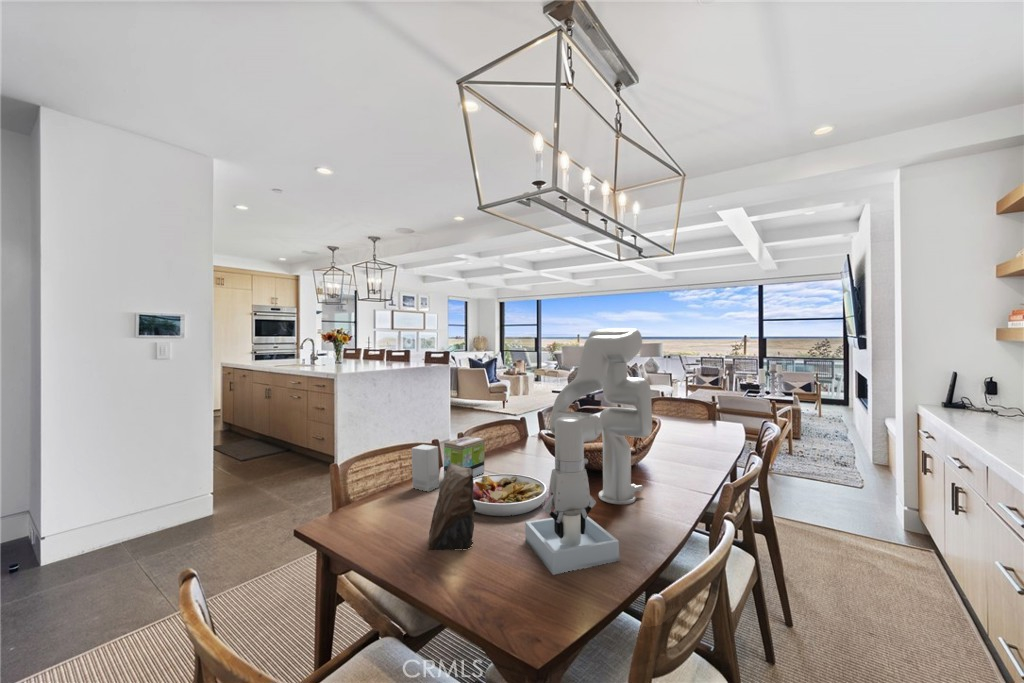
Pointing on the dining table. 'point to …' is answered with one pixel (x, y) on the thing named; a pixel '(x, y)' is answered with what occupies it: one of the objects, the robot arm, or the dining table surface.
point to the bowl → (507, 494)
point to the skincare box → (425, 467)
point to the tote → (562, 558)
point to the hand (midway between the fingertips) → (570, 533)
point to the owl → (453, 511)
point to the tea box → (465, 454)
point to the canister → (571, 527)
